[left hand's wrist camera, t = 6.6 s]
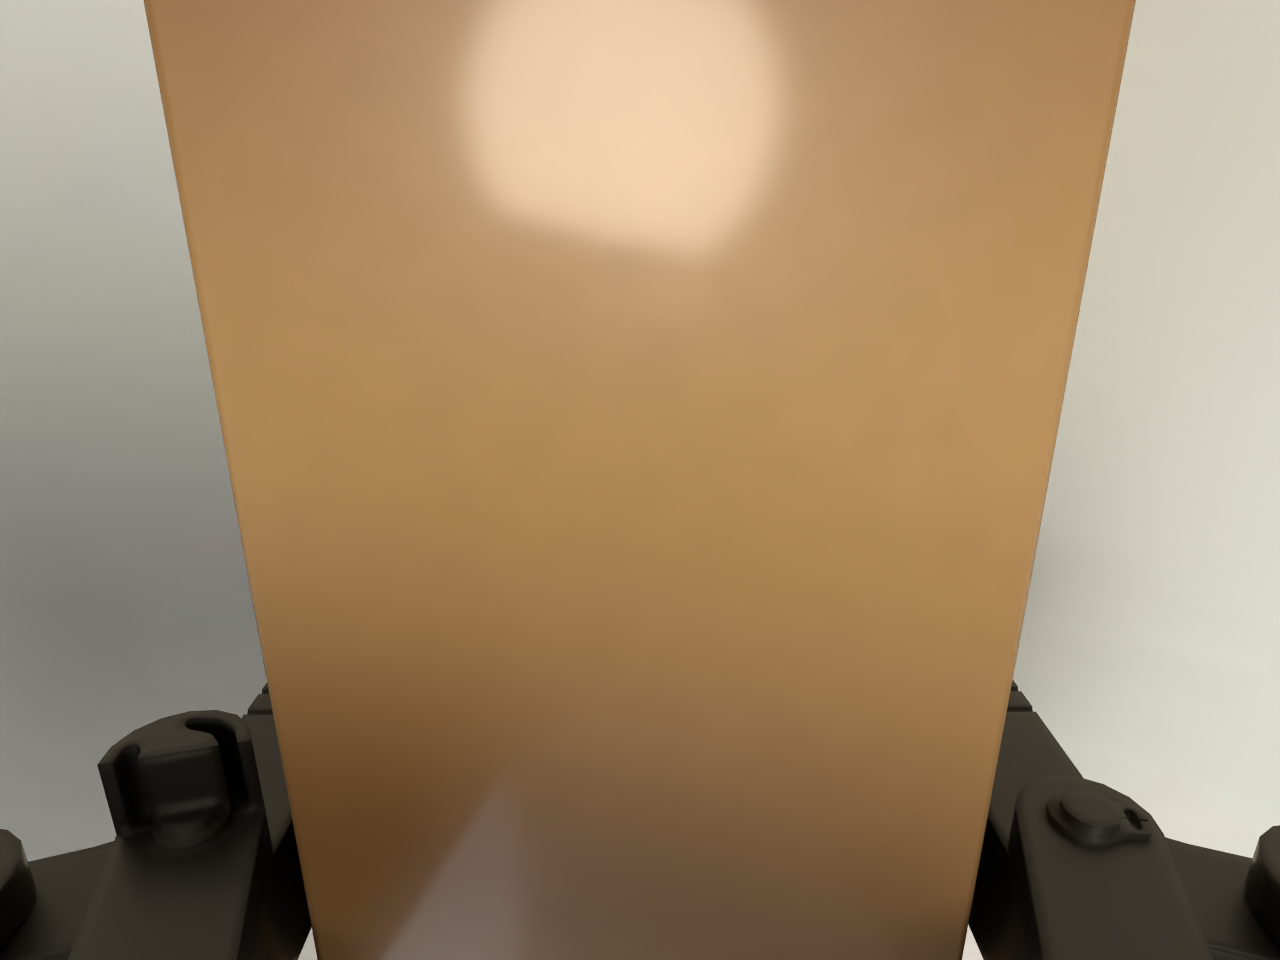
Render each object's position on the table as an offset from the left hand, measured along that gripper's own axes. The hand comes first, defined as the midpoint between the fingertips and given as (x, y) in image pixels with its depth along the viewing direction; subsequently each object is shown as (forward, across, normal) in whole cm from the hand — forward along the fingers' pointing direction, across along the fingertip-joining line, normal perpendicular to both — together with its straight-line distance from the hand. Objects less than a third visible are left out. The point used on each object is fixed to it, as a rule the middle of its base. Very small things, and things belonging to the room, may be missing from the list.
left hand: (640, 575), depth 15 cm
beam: (+1, 0, -26) cm, 26 cm away
